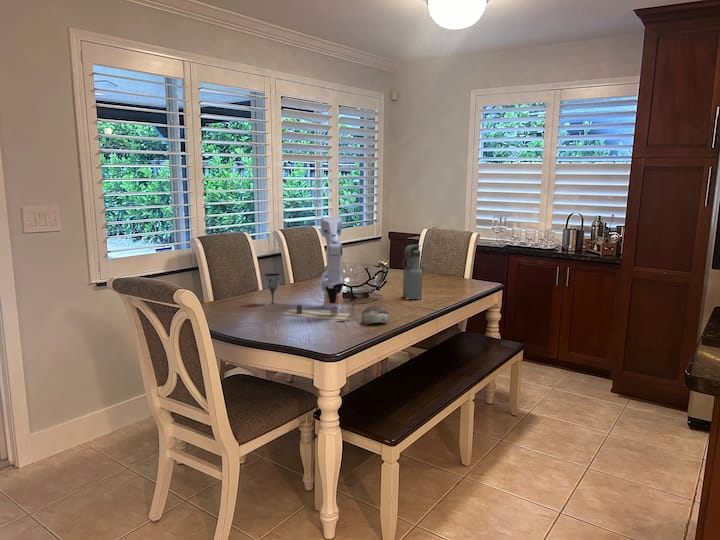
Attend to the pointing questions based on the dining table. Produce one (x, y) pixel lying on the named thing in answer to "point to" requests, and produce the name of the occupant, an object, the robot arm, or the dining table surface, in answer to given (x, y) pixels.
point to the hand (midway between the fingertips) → (334, 301)
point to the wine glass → (272, 284)
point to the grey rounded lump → (375, 315)
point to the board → (318, 314)
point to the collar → (338, 299)
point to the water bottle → (412, 273)
